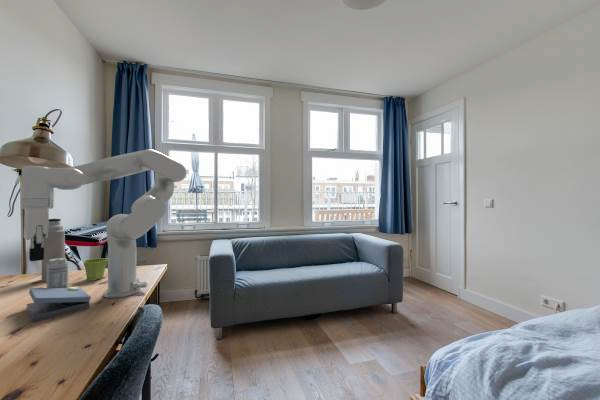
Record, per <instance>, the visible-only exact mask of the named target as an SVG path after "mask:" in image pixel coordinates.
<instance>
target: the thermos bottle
mask: <svg viewBox="0 0 600 400" xmlns="http://www.w3.org/2000/svg"><path fill="white" fill-rule="evenodd" d="M43 247H44V259H43V260H41V281H42V282H47V264H48V262H49V260H50V259H55V258H66V230H65V229H64V226H63V225H62V224H61V218H49V226H48V237H47V238H46V239H44V246H43Z"/></svg>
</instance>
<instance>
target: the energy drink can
mask: <svg viewBox="0 0 600 400" xmlns="http://www.w3.org/2000/svg"><path fill="white" fill-rule="evenodd" d="M68 287H69V261H68V260H67V257H65V258H55V259H50V260H49V262H48V264H47V281H46V288H68Z"/></svg>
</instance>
